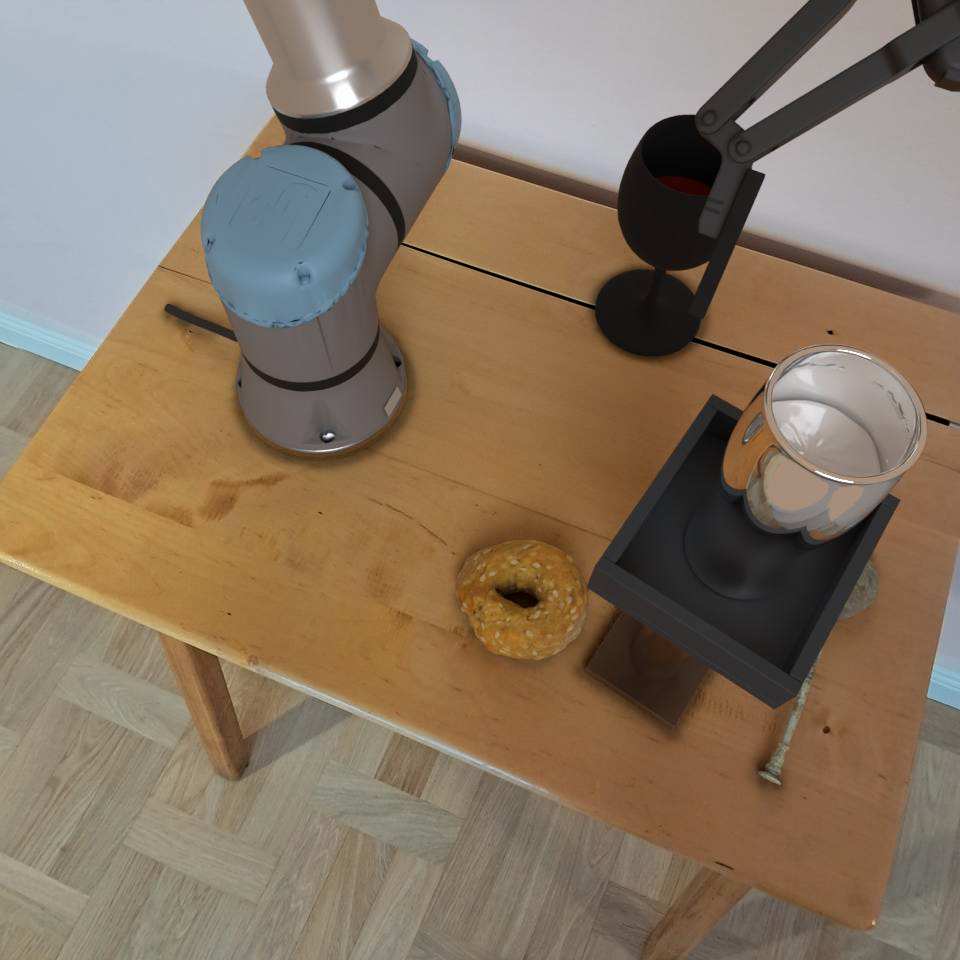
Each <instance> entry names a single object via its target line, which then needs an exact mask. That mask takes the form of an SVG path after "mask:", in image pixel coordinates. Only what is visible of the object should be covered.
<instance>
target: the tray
mask: <svg viewBox="0 0 960 960" xmlns="http://www.w3.org/2000/svg"><path fill="white" fill-rule="evenodd" d="M743 411H744V410H743V409H741V408H739V407H737V406H735V405H734V404H732V403H730V402H728V401H727V400H725V399H723V398H721V397H719V396H718V395H716V394H714V393H712V394H711V395H710V397H709V398H708V399H707V401H706V402H705V404H704V405H703V407H702V408H701V410H700V411H699V412H698V413H697V416H696V417H695V419H694V420H693V422H692V423H691V424H690V426H689V428H688V429H687V430H686V432H685V433H684V434H683V436H682V437H681V439H680V440H679V442H678V444H677V445H676V447H675V448H674V449H673V451H672V452H671V453H670V455H669V456H668V458H667V460H666V461H665V462H664V463H663V466H662V467H661V468H660V470H659V471H658V472H657V474H656V476H655V477H654V479H652V482H651V483H650V484H649V486H648V487H647V489H646V490H645V491H644V493H643V495H642V496H641V497H640V499H639V500H638V502H637V503H636V505H635V506H634V508H633V509H632V511H631V512H630V513H629V515H628V517H627V518H626V520H625V521H624V523H623V524H622V525H621V527H620V528H619V530H618V531H617V532H616V534H615V535H614V537H613V538H612V540H611V542H610V543H609V545H608V546H607V547H606V549H605V551H604V552H603V553H602V555H601V556H600V558H599V559H598V561H596V563H595V564H594V567H593V569H592V572H591V574H590V577H589V579H588V582H587V583H586V585H587V589H588V591H591V592H592V593H594V594H596V595H598V596H599V597H600V598H602V599H603V600H605V601H606V602H608V603H610V604H611V605H612V606H614V607H615V608H617V609H619V610H620V611H621V612H622V611H623V612H625V613H626V614H628V615H629V616H631V617H633V618H634V619H636V620H637V621H639V622H640V623H642V624H643V625H645V626H646V627H648V628H649V629H651V630H653V631H654V632H656V633H657V634H659V635H660V636H662V637H663V638H665V639H666V640H668V641H669V642H671V643H673V644H674V645H676V646H677V647H679V648H680V649H682V650H683V651H685V652H686V653H688V654H690V655H691V656H693V657H694V658H696V659H697V660H699V661H700V662H702V663H703V664H705V665H706V666H708V667H710V668H709V669H711V670H712V671H714V672H716V673H717V674H719V675H721V676H722V677H723V678H725V679H726V680H728V681H730V682H731V683H733V685H736V686H737V687H739V688H740V689H742V690H743V691H745V692H746V693H748V694H750V696H753V697H754V698H755V699H758V700H759V701H760V702H762V703H763V704H765V705H767V706H768V707H769V708H771V709H772V710H777V709H778V708H780V707H782V706H784V705H785V704H786V703H788V702H790V701H791V700H793V699H794V698H796V696H797V695H798V693H799V691H800V689H801V687H802V685H803V683H804V681H805V680H806V678H807V676H808V674H809V672H810V670H811V668H812V666H813V664H814V663H815V661H816V659H817V657H818V655H819V653H820V651H821V649H822V647H823V646H824V647H825V645H824V644H826V643H827V640H828V638H829V636H830V634H831V633H832V631H833V628H834V627H835V625H836V623H837V621H838V620H839V619H838V617H839V615H840V614H841V612H842V610H843V608H844V606H845V604H846V602H847V600H848V598H849V597H850V595H851V593H852V591H853V589H854V587H855V585H856V583H857V582H858V580H859V578H860V576H861V574H862V572H863V570H864V568H865V566H866V565H867V563H868V561H869V559H870V560H871V558H872V555H873V553H874V552H875V549H876V547H877V545H878V544H879V542H880V540H881V538H882V536H883V535H884V532H885V531H886V529H887V527H888V525H889V523H890V521H891V519H892V517H893V515H894V513H895V511H896V510H897V508H898V507H899V504H900V503H901V499H900V498H898V497H896V495H893V494H891V493H889V494H888V495H887V496H886V497H885V498H884V499H883V501H882V502H881V503H880V504H879V505H878V506H877V507H876V508H875V509H874V510H873V511H872V512H871V513H870V514H869V515H868V516H867V517H865V518H864V519H863V520H862V521H861V522H860V523H858V524H857V525H856V526H855V527H854V528H852V529H851V530H849V531H848V532H846V533H845V534H843V535H841V536H840V537H838V538H837V539H835V540H833V541H831V542H829V543H828V544H826V545H824V546H821V547H819V548H817V549H815V550H813V551H811V552H809V553H807V554H805V555H803V556H801V557H799V558H798V559H797V561H796V564H795V566H794V569H793V571H792V573H791V575H790V577H789V578H788V580H787V581H786V582H785V583H784V585H783V586H782V587H781V588H779V589H778V590H777V591H776V592H774V593H772V594H770V595H768V596H766V597H763V598H759V599H754V600H738V599H733V598H729V597H726V596H723V595H721V594H719V593H717V592H715V591H713V590H712V589H710V588H709V587H708V586H706V585H705V584H704V583H703V582H702V581H701V580H700V579H699V578H698V577H697V576H696V574H695V573H694V572H693V570H692V568H691V567H690V565H689V562H688V560H687V557H686V553H685V548H684V537H685V531H686V528H687V525H688V523H689V521H690V519H691V517H692V516H693V515H694V513H695V512H696V511H697V510H698V509H699V508H700V507H701V506H702V505H704V504H705V503H706V502H707V501H709V500H710V499H712V497H713V495H714V491H715V486H716V480H717V476H718V471H719V466H720V462H721V459H722V456H723V452H724V449H725V446H726V443H727V441H728V439H729V437H730V435H731V433H732V431H733V429H734V427H735V425H736V423H737V421H738V419H739V418H740V416H741V415H742V413H743ZM824 647H823V648H824Z"/></svg>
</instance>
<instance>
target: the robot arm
mask: <svg viewBox="0 0 960 960" xmlns="http://www.w3.org/2000/svg"><path fill="white" fill-rule="evenodd" d="M242 1H243V3H244V5H245V7H246V10H247V12H248V13H249V16H250V19H251V20H252V22H253V24H254V26H255V29H256V30H257V33H258V34H259V37H260V39H261V40H262V44H263V45H264V47H265V49H266V51H267V53H268V55H269V58H270V59H271V61H272V63H273V64H272V66H271V68H270V71H269V73H268V76H267V78H266V83H265V94H266V98H267V99H268V102H269V104H270V106H271V109H272V110H273V112H274V113H275V116H276V118H277V119H278V122H279V123H280V126H281V127H282V130H283V132H284V135H285V140H284V142H283V143H282V144H281V145H273V146H269V147H265V148H262V149H261V150H260V156H259V157H255V158H253V157H251V156H250V155H246V156H243V157H241V158H240V159H238V160H237V161H236V162H234V163H233V164H232V165H231V166H229V167H228V168H227V169H226V170H225V171H224V172H223V173H222V174H221V175H220V176H219V177H218V179H217V180H216V181H215V183H214V184H213V186H212V187H211V189H210V190H209V191H210V192H209V193H208V195H207V197H206V199H205V202H204V204H203V208H202V213H201V217H200V218H201V219H200V239H201V244H202V249H203V253H204V259H205V265H206V269H207V272H208V274H207V275H208V277H209V280H210V282H211V283H210V284H212V287H213V288H214V290H215V292H216V294H217V296H218V298H219V300H220V302H221V304H222V307H223V309H224V312H225V314H226V317H227V320H228V322H229V324H230V327H231V328H232V329H231V328H227V327H225V326H223V325H220V324H218V323H215V322H214V321H210V320H208V319H204V318H203V317H200V316H197V315H195V314H192V313H190V312H188V311H185V310H184V309H181V308H179V307H177V306H175V305H173V304H171V303H167V304H165V306H164V309H163V310H164V312H165V313H167V314H169V315H171V316H173V317H176V318H177V319H179V320H181V321H184V322H186V323H188V324H191V325H193V326H196V327H198V328H201V329H203V330H206V331H209V332H211V333H213V334H216V335H219V336H221V337H223V338H226V339H228V340H231V341H233V342H235V343H237V344H238V347H239V349H240V353H239V363H238V366H237V371H236V378H235V379H236V380H235V389H236V398H237V401H238V404H239V406H240V407H239V408H240V410H241V412H242V414H243V416H244V419H245V421H246V423H247V425H248V426H249V428H250V429H251V430H252V432H253V433H254V434H255V435H256V437H257V438H259V439H260V441H262V442H263V443H264V444H266V445H267V446H268V447H269V448H271V449H273V450H275V451H277V452H279V453H282V454H283V455H286V456H288V457H292V458H295V459H300V460H306V461H329V460H331V461H332V460H336V459H341V458H345V457H348V456H352V455H355V454H356V453H359V452H361V451H363V450H365V449H367V448H369V447H370V446H372V445H374V444H375V443H376V442H378V441H379V440H380V439H381V438H382V437H384V436H385V435H386V434H387V433H388V432H389V431H390V429H392V427H393V426H394V424H395V423H396V421H397V420H398V419H399V416H400V414H401V413H402V410H403V409H404V406H405V402H406V398H407V393H408V392H407V390H408V379H407V368H406V362H405V358H404V355H403V353H402V350H401V349H400V346H399V345H398V343H397V342H396V340H395V339H394V337H393V336H392V334H391V333H390V332H389V330H387V328H386V327H385V325H384V323H382V321H381V320H380V319H379V311H378V303H377V302H378V301H377V292H378V287H379V285H380V282H381V280H382V279H383V277H384V276H385V273H386V271H387V270H388V268H389V266H390V265H391V263H392V261H393V259H394V258H395V256H396V254H397V252H398V251H399V249H400V247H401V245H402V244H403V243H404V241H405V239H406V238H407V236H408V234H409V232H410V231H411V230H412V228H413V227H414V224H415V223H416V221H417V220H418V218H419V216H420V214H421V213H422V211H423V210H424V208H425V207H426V205H427V203H428V202H429V200H430V198H431V196H432V195H433V193H434V191H436V188H437V187H438V185H439V183H440V182H441V180H442V179H443V177H444V176H445V175H446V173H447V172H448V170H449V167H450V164H451V161H452V159H453V157H454V153H455V149H456V148H457V146H458V143H459V140H460V136H461V131H462V121H463V118H462V107H461V103H460V97H459V94H458V91H457V89H456V86H455V84H454V81H453V80H452V78H451V76H450V74H449V72H448V71H447V69H446V67H445V66H444V65H443V63H442V62H440V60H439V59H436V60H432V59H431V57H429V56H428V53H429V52H430V51H429V49H428V48H427V47H425V46H424V45H423V44H421V43H420V42H419V41H418V40H415V39H413V38H411V36H410V34H409V32H408V31H407V29H406V28H405V27H404V26H403V25H401V24H400V23H398V22H396V21H394V20H391V19H389V18H387V17H385V16H382V15H381V13H380V10H379V8H378V4H377V2H376V0H242ZM857 1H858V0H807V1H806V3H805V4H804V5H802V6H801V7H800V9H798V10H797V11H796V12H795V14H793V16H791V17H790V18H789V19H788V20H787V21H786V22H785V23H784V24H783V25H782V26H780V27H781V28H779V29H778V30H777V31H776V32H775V33H774V34H773V35H772V36H771V37H770V38H769V39H768V40H767V41H766V42H765V43H764V44H763V45H762V46H761V47H760V48H759V49H758V50H757V51H756V52H755V53H754V54H753V55H751V57H750V58H749V59H748V60H747V61H746V62H745V63H744V64H743V65H742V66H741V67H740V68H738V70H736V72H735V73H734V74H733V75H732V76H730V78H729V79H728V80H727V81H726V82H725V83H724V84H723V85H721V87H719V88H718V89H717V91H715V92H714V93H713V95H711V96H710V97H709V98H708V100H707V101H706V102H704V103H703V104H702V105H701V106H700V108H699V109H698V110H697V112H696V113H695V115H696V116H695V125H696V127H697V129H698V131H699V133H700V134H701V136H702V137H704V138H705V139H706V140H707V141H709V142H710V143H711V144H712V145H713V146H714V147H715V148H717V149H718V151H719V152H720V153H721V156H722V163H721V167H720V169H719V172H718V174H717V177H716V179H715V181H714V184H713V186H712V189H711V191H710V194H709V196H708V199H707V201H706V203H705V206H704V208H703V211H702V213H701V215H700V218H699V223H698V233H701V234H703V235H706V236H709V237H712V238H714V239H717V240H718V242H717V244H716V246H715V249H714V251H713V253H712V256H711V258H710V260H709V261H708V262H707V265H706V267H705V269H704V272H703V274H702V277H701V279H700V282H699V283H698V286H697V289H696V290H695V291H696V292H695V293H694V295H695V296H694V298H693V300H692V303H691V305H690V308H689V310H688V312H687V313H688V314H690V315H693V316H695V317H698V318H701V320H704V318H705V317H706V315H707V312H708V311H709V308H710V306H711V303H712V301H713V299H714V297H715V294H716V292H717V290H718V288H719V285H720V282H721V280H722V278H723V275H724V273H725V271H726V269H727V266H728V264H729V262H730V260H731V257H732V254H733V252H734V250H735V248H736V246H737V243H738V241H739V239H740V237H741V235H742V232H743V229H744V227H745V224H746V223H747V221H748V217H749V215H750V213H751V211H752V209H753V207H754V204H755V202H756V199H757V197H758V194H759V193H760V190H761V188H762V185H763V183H764V180H765V178H766V173H765V172H761V171H758V170H756V169H753V165H754V163H756V162H758V161H759V160H761V159H763V158H764V157H766V156H767V155H770V154H771V153H773V152H775V151H776V150H778V149H780V148H781V147H783V146H785V145H786V144H788V143H790V142H792V141H794V140H795V139H797V138H799V137H800V136H802V135H803V134H806V133H807V132H809V131H811V130H813V129H814V128H815V127H817V126H819V125H821V124H822V123H824V122H826V121H827V120H829V119H831V118H833V117H835V116H836V115H838V114H840V113H842V112H843V111H845V110H846V109H848V108H850V107H851V106H853V105H856V103H858V102H860V101H861V100H863V99H865V98H866V97H868V96H870V95H872V94H873V93H875V92H877V91H878V90H881V89H882V88H884V87H885V86H887V85H890V84H892V83H893V82H895V81H897V80H900V79H901V78H902V77H904V76H906V75H908V74H909V73H911V72H912V71H914V70H916V69H917V68H920V67H921V66H922V68H923V69H924V70H923V71H924V72H925V74H926V75H927V77H928V78H929V79H930V80H931V81H933V82H934V85H933V87H936V88H938V89H942V90H945V91H948V92H951V93H960V0H910V2H911V3H910V4H911V9H912V14H913V19H914V26H912V27H911V28H909V29H907V30H905V31H904V32H903V33H901V34H899V35H897V36H896V37H894V38H893V39H891V40H890V41H889V42H887V43H886V44H884V45H883V46H882V47H880V48H878V49H877V50H875V51H874V52H872V53H870V54H869V55H866V57H865V56H864V57H863V58H862V59H861V60H859V61H857V62H855V63H853V64H852V65H851V66H849V67H847V68H845V69H844V70H842V71H841V72H839V73H837V74H835V75H834V76H833V77H830V78H829V79H827V80H825V81H824V82H822V83H821V84H819V85H817V86H816V87H813V88H812V89H810V90H809V91H808V92H806V93H804V94H802V95H800V96H799V97H798V98H795V99H794V100H792V101H791V102H789V103H788V104H785V105H783V107H781V108H779V109H778V110H776V111H774V112H773V113H771V114H769V115H768V116H766V117H765V118H762V119H761V120H759V121H758V122H756V123H754V124H753V125H751V126H750V127H748V128H747V129H746V128H745V129H744V128H743V127H742V126H741V125H740V124H738V123H737V122H736V121H737V120H738V119H739V118H740V117H741V116H743V115H744V113H746V111H748V110H749V108H751V107H752V106H753V105H754V104H755V103H756V102H757V101H758V100H759V99H760V98H761V97H762V96H763V95H764V94H765V93H767V91H768V90H769V89H770V88H771V87H773V85H775V84H776V82H778V81H779V80H780V79H781V78H782V77H783V76H784V75H785V74H786V73H787V72H788V71H789V70H790V69H791V68H792V67H793V66H795V64H797V62H798V61H799V60H801V59H802V58H803V57H804V56H805V55H806V54H807V53H808V52H809V51H810V50H811V49H812V48H813V47H814V46H815V45H817V43H818V42H819V41H820V40H822V38H823V37H825V36H826V35H827V34H828V33H829V32H830V31H831V30H832V29H833V28H834V27H835V26H836V25H837V24H838V23H839V22H840V21H841V20H842V19H843V18H844V17H845V16H846V15H847V14H848V13H849V12H850V11H851V9H852V8H853V7H854V5H855V4H856V3H857ZM751 168H752V169H751Z"/></svg>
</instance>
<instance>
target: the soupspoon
mask: <svg viewBox="0 0 960 960" xmlns="http://www.w3.org/2000/svg"><path fill="white" fill-rule="evenodd" d="M879 587H880V577H879V573H878V570H877V568H876V566H875V564H874V563H873V561H872V560H871V558H870V559H869V561H868V563H867V565H866V566H865V568H864V570H863V572H862V574H861V576H860V578H859V580H858V582H857V583H856V585H855V587H854V589H853V591H852V593H851V595H850V597H849V598H848V600H847V602H846V604H845V606H844V608H843V610H842V612H841V614H840V615H839V617H838V619H837V620H841V619H847V618H850V617H854V616H856V615H858V614H859V613H861V612H862V611H864V610H865V609H867V608H869V607H870V606H871V605H872V603H873V602H874V601H875V599H876V598H877V596H878V593H879ZM825 644H826V643H825ZM825 644H824V646H823V647H822V649H821V651H820V653H819V655H818V657H817V659H816V661H815V663H814V664H813V666H812V668H811V670H810V672H809V674H808V676H807V678H806V680H805V681H804V683H803V685H802V687H801V689H800V691H799V693H798V695H797V696H796V697H795V699H794V702H793V705H792V709H791V711H790V713H789V716H788V719H787V722H786V726H785V729H784V731H783V735H782V738H781V739H779V740H777V741H776V742H777V743H776V744H777V748H775V750H774V751H773V752H772V753H771V756H770V758H769V762H768V763H765V766H764V767H765V770H764V771H761V770H759V771H757V774H758V775H760V776H761V777H762V778H764V779H766V780H767V781H769V782H770V783H774V784H776V785H778V786H781V785H782V783H781V782H780V780H779V779H778V776H779V775H781V773H782V769H781V767H783V765H784V762H785V759H786V752H788V751H789V750H790V743H791V741H792V738H793V735H794V733H795V731H796V728H797V726H798V723H799V720H800V717H801V715H802V713H803V709H804V706H805V705H806V700H807V698H808V694H809V691H810V688H811V685H812V684H813V683H812V682H813V679H814V677H815V672H816V670H817V667H818V664H819V661H820V658H821V656H822V653H823V650H824V648H825Z"/></svg>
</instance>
